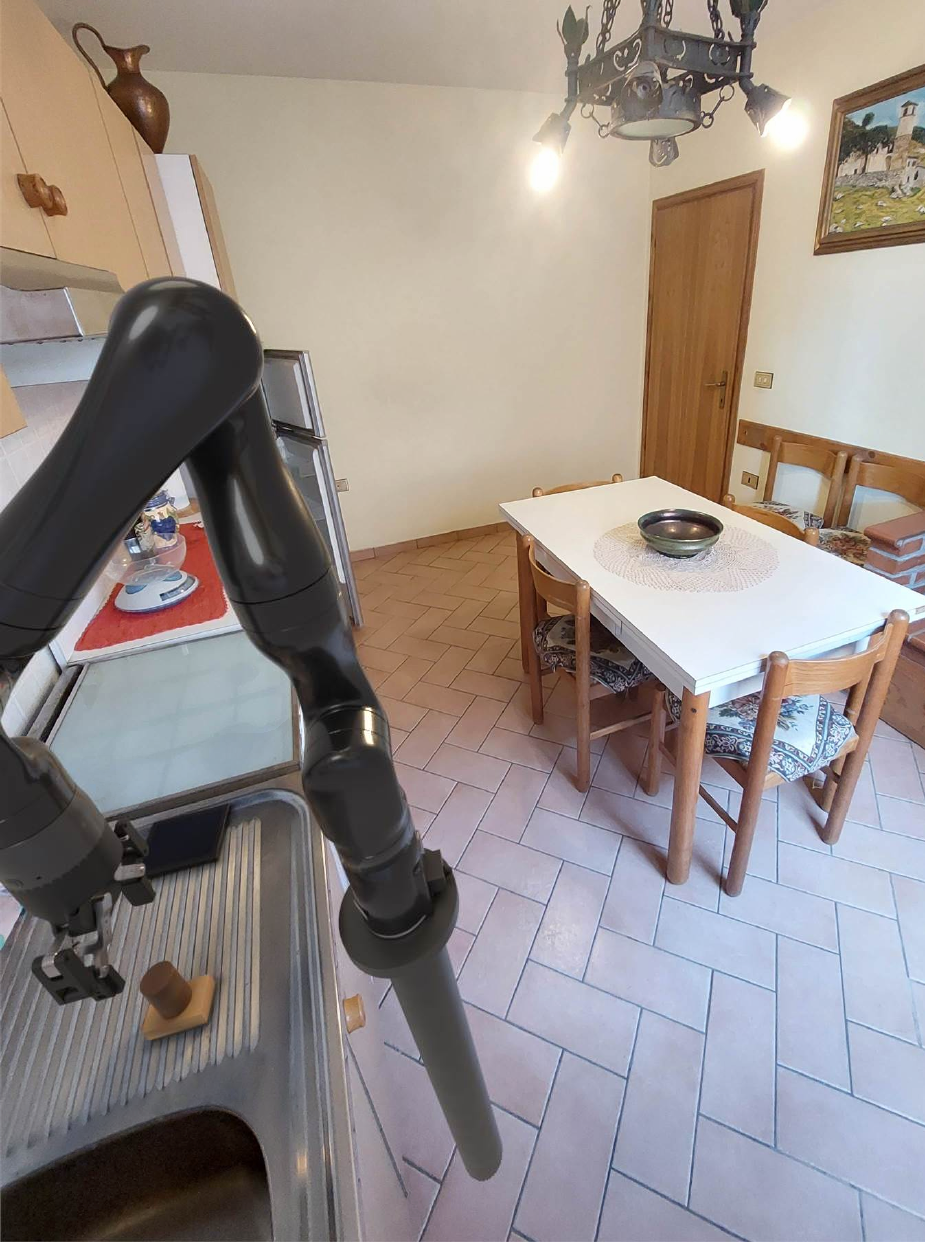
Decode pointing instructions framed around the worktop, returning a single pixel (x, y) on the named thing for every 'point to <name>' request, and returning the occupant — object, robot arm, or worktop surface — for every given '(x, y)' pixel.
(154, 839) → the ink pad
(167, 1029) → the stamp
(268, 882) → the worktop surface
